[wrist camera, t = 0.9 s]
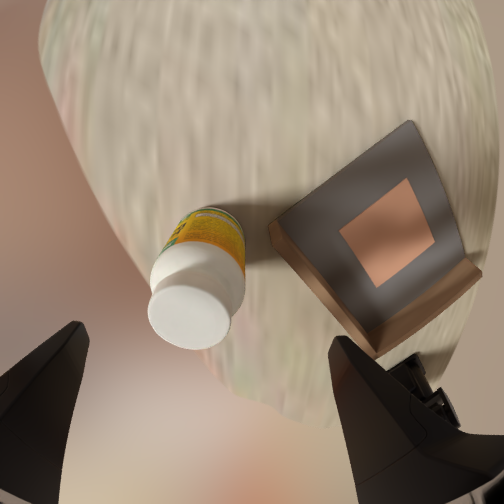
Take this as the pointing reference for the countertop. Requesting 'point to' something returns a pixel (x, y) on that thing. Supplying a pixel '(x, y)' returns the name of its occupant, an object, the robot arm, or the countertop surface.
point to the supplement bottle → (198, 280)
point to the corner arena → (379, 243)
